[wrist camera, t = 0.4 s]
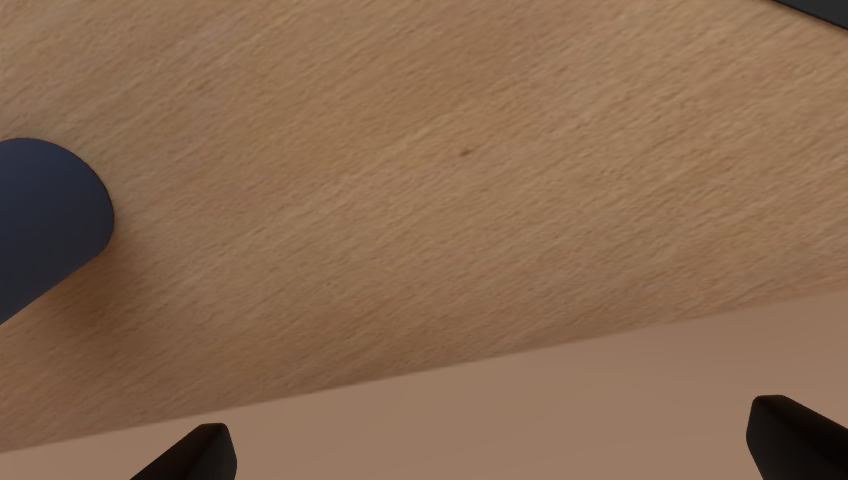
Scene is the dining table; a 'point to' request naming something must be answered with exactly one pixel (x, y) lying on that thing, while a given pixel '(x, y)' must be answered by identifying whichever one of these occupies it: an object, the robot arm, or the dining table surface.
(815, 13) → the mat
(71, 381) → the dining table surface
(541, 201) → the dining table surface
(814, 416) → the robot arm
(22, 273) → the blue cylinder
